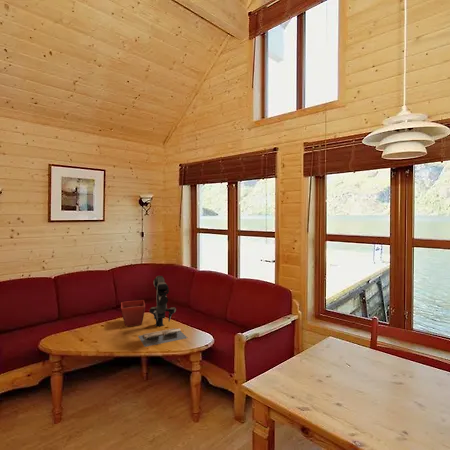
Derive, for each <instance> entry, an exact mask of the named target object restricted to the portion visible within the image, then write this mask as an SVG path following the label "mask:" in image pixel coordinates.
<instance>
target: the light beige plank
mask: <svg viewBox="0 0 450 450" xmlns="http://www.w3.org/2000/svg"><path fill="white" fill-rule="evenodd" d="M161 335H162V332H159V333H154V334H148V335H147V336H146V339H150V338H155V337H159V336H161Z"/></svg>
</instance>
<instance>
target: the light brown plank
mask: <svg viewBox="0 0 450 450" xmlns="http://www.w3.org/2000/svg"><path fill="white" fill-rule="evenodd" d="M175 329H176V328H174V327H173V328H170V329H163V330H159V331H158V330H157V331H152V332H148V333H147V332H146V333H143V334H142V335H143V337H144V338H145V339H146V336H147V335H148V334H154V333H159V332H162V335H164V333H165V332H167V331H169V330H175ZM162 335H161V336H162Z"/></svg>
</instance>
